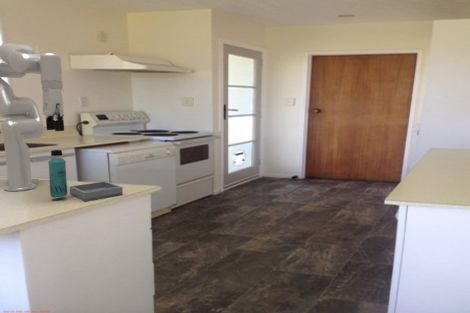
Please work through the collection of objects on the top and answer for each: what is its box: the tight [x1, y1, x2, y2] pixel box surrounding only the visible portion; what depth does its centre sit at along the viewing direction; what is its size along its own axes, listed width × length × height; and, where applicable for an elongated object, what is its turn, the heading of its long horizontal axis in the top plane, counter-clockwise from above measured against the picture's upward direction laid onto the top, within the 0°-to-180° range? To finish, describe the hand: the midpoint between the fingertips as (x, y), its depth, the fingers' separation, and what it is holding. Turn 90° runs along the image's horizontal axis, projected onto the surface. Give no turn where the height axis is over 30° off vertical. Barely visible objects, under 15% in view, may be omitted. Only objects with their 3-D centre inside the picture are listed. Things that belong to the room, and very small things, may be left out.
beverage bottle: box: [48, 149, 68, 198], centre depth 156 cm, size 6×7×20 cm
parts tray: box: [69, 180, 123, 202], centre depth 164 cm, size 16×16×4 cm
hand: (55, 130), depth 153 cm, fingers open, 9 cm apart
